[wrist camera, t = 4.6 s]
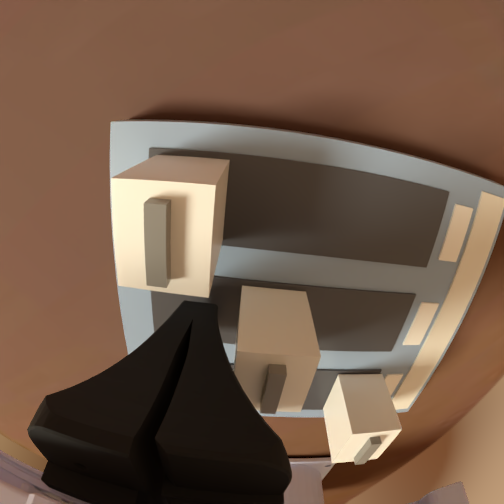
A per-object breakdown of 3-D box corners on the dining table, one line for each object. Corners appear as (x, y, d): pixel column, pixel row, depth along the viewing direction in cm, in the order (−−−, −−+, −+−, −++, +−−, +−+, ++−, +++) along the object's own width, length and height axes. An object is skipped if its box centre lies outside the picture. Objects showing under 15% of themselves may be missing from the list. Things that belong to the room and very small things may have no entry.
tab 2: (363, 407, 15) (378, 465, 11) (323, 408, 15) (333, 469, 11) (382, 373, 14) (404, 436, 10) (338, 374, 14) (354, 442, 10)
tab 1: (222, 240, 11) (206, 307, 7) (155, 233, 11) (112, 293, 7) (229, 159, 10) (213, 190, 6) (156, 154, 10) (103, 182, 6)
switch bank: (400, 394, 17) (408, 412, 16) (144, 380, 16) (137, 400, 15) (491, 180, 11) (512, 189, 10) (127, 119, 10) (109, 121, 9)
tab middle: (292, 346, 13) (301, 421, 9) (235, 341, 13) (229, 417, 9) (305, 291, 12) (323, 366, 8) (242, 285, 12) (236, 361, 8)
